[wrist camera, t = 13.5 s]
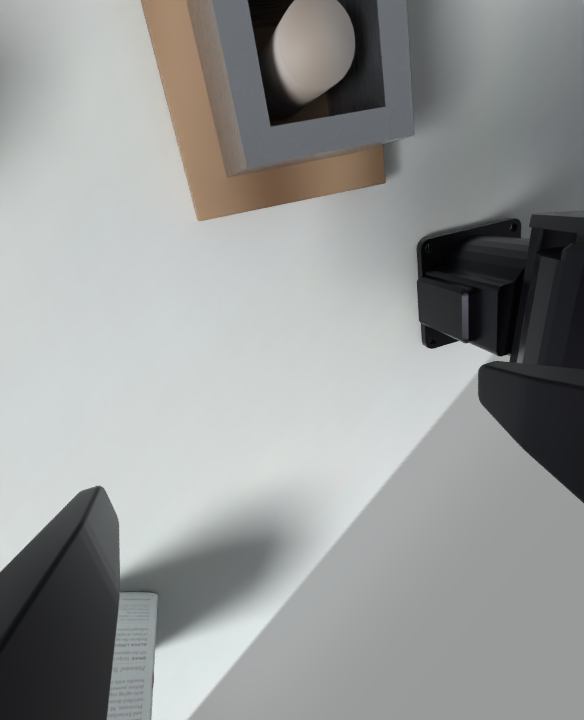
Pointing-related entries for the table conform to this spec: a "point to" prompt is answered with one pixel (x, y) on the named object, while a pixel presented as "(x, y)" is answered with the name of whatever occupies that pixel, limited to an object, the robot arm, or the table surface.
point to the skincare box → (133, 657)
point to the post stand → (283, 99)
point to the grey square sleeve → (345, 99)
